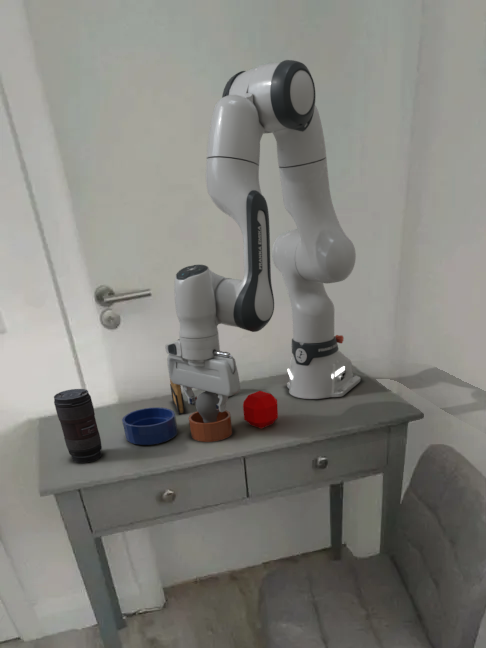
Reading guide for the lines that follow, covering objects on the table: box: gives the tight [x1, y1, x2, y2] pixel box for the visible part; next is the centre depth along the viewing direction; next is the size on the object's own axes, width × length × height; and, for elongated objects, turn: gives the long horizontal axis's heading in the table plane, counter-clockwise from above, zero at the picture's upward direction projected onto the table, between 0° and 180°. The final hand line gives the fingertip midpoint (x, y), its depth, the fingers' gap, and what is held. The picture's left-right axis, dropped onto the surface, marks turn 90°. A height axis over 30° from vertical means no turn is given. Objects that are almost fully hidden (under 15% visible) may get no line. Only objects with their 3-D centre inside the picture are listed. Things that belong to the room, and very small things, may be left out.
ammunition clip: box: [169, 378, 186, 415], centre depth 163 cm, size 11×2×12 cm, turn 16°
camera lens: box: [53, 388, 103, 464], centre depth 139 cm, size 8×8×15 cm
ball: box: [242, 390, 279, 430], centre depth 151 cm, size 8×8×8 cm
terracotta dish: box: [188, 409, 233, 443], centre depth 149 cm, size 10×10×4 cm
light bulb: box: [195, 391, 220, 423], centre depth 147 cm, size 6×6×10 cm
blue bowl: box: [121, 406, 179, 446], centre depth 150 cm, size 13×13×5 cm
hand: (206, 407), depth 146 cm, fingers open, 8 cm apart
